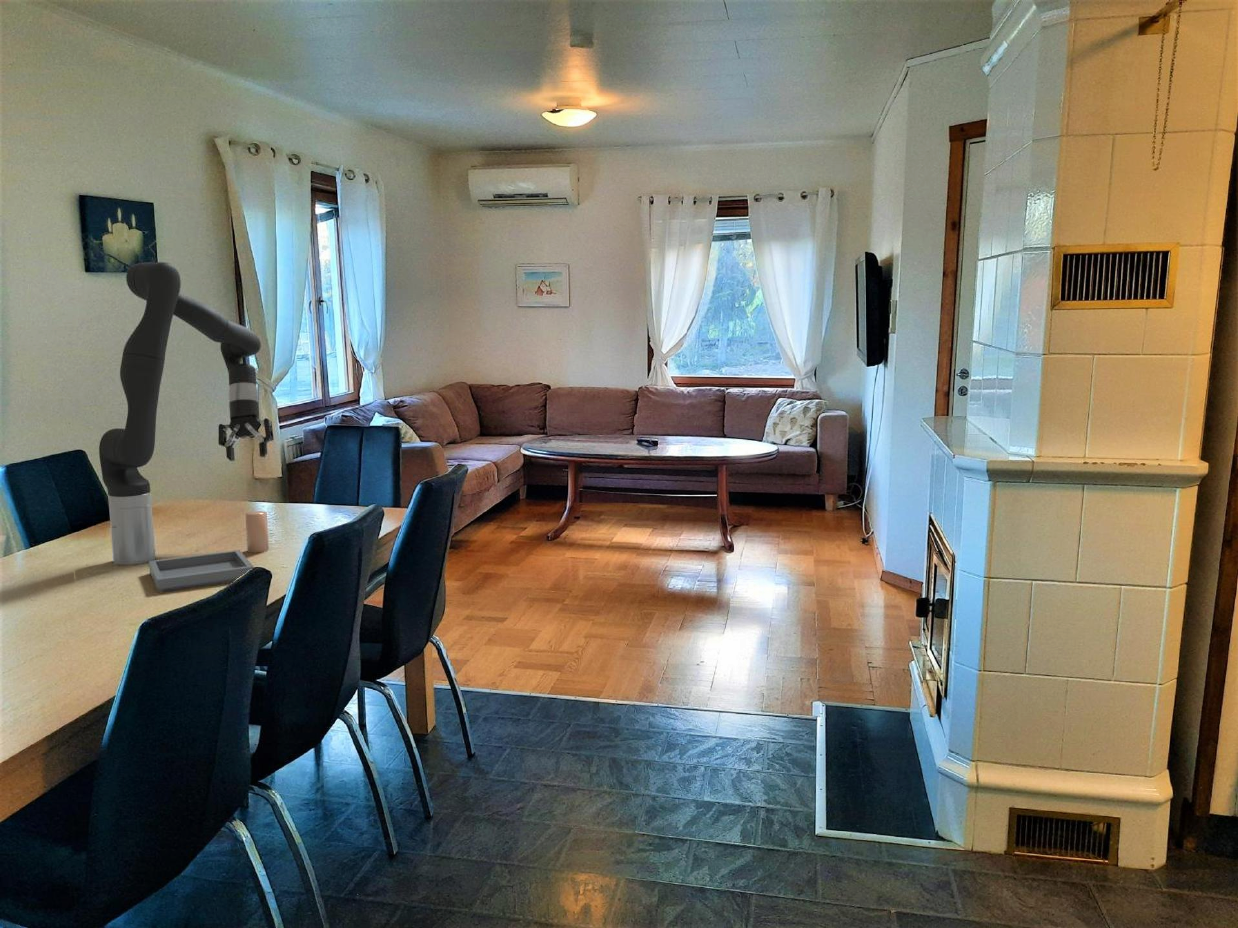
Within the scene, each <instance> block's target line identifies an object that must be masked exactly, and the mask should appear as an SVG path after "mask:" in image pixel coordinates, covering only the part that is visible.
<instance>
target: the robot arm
mask: <svg viewBox="0 0 1238 928" xmlns="http://www.w3.org/2000/svg"><path fill="white" fill-rule="evenodd" d="M180 275H181V274H180V272H179V270H178V269H177V267H176V266H175V265H173V264H171V263H169V262H163V261H162V262H161V261H159V262H158V261H154V262H149V261H147V262H139V263H136V264H133V265H131V267H129V268H128V269H127V272H126V277H125V280H126V284H127V287H128V289H129V290H130V292H131V293H132V294H133V295H134V296H136V297H138V298H140V299H142V300H144V301H145V302H146V304H145V309H144V313H143V315H142V318H141V319H140V321H139V323H138V325H137V326H136V327H135V329H134V330H133V331H132V333H131V334H130V336H129V338H128V339H127V341H126V342H125V345H124V347H123V351H122V355H121V356H122V357H121V362H120V369H119V376H120V377H119V378H120V382H121V383H120V384H121V385H122V389H123V391H124V395H125V398H126V401H127V402H126V403H127V417H126V421H125V426H124V427H125V428H111V429H109V430H107V431H106V432H104V433H103V435H102V436H101V438H100V441H99V446H98V454H99V463H100V470H101V476H102V481H103V485H104V486H105V487H106V489H107V490H106V491H107V497H108V498H107V499H108V500H107V501H108V508H109V509H108V510H109V511H108V512H109V520H110V521H109V522H110V524H109V528H110V529H109V530H110V538H111V551H112V561H113V564H114V566H133V565H142V564H145V563H149V561H154V560H157V559H156V545H155V542H156V541H155V531H154V520H153V518H154V517H153V509H152V508H153V506H152V495H151V494H152V493H151V484H150V482H149V480H148V479H147V478H146V477H145V476H143V475H142V474H141V473H140V471H139V469H138V468H141V467H144V466H146V465H147V464H148V463H149V462H150V461H151V459H152V457H153V456H154V452H155V447H156V446H155V445H156V428H157V411H158V410H157V409H158V404H159V396H160V389H161V383H162V379H163V374H164V373H163V372H164V366H165V361H166V354H167V353H166V352H167V345H168V340H169V336H170V330H171V325H172V322H173V321H172V320H173V317H174V316H175V317H177V318H178V319H180V320H181V321H183V322H184V323H187V325H189V326H191V327H192V328H194V329H195V330H197V331H198V332H200V333H201V334H202V335H204V336H205V337H207V338H208V339H210V340H211V341H213V342H214V343H219V344H220V346H219V347H220V348H219V349H220V352H221V355H222V358H223V361H224V364H225V366H226V369H227V373H228V408H229V419H230V423H229V424H223V423H219V424H218V436H217V437H218V438H217V439H218V440H217V441H218V443H217V444H218V445H219V446H222V447H223V448H224V447H225V452H226V455H225V456H226V459H227V460H228V461H229V462H234V461H235V460H236V459H235V448H234V446H235V445H236V443H237V442H239V440H240V439H246V438H254V437H255V438H256V439H257V440H258V441H259V443H258V448H259V449H258V450H259V456H260V457H261V458H266V455H267V454H268V443H269V442H273V441H274V430H273V422H272V420H271V419H270V418H268V417H266V418H264V419H261V420H260V406H259V405H260V404H259V401H260V400H259V399H260V398H259V391H258V386H257V375H256V369H255V367H254V366H253V365H252V364H250V363H243V361H242V359H243V358H247V357H251V356H254V355H256V354H258V352H260V351H261V346H262V344H261V340H260V337H259V336H258V335H257V334H256V333H255V332H254V331H253V330H251V329H249V328H247V327H246V326H243V325H241V324H238V323H236V322H234V321H231V320H228V318H226V317H225V316H223V315H222V314H221V313H219V312H218V311H217V310H215V309H213V308H212V307H211V306H209V305H207V304H205V303H203V302H201V301H198V300H196V299H194V298H192V297H189V295H185V294H184V293H182V292H180V291H181V283H182V281H181V276H180ZM261 426H262V427H263V428H264V432H265V434H264V435H265V436H264V435H263V434H262V432H260V431H259V430H260V428H261ZM229 430H230V431H231V433H230V434H229V436H228V432H229Z"/></svg>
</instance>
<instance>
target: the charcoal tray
mask: <svg viewBox="0 0 1238 928" xmlns="http://www.w3.org/2000/svg"><path fill="white" fill-rule="evenodd" d="M148 565H149V566H148V567H149V574H150V577H151V579H152V582H153V584H154V586H155V588H156V591H157V593H158V594H161V593H168V592H174V591H181V590H188V589H195V588H196V589H197V588H203V587H204V588H205V587H209V586H215V585H216V586H217V585H218V586H219V585H223V584H231V583H232V584H233V583H234V582H233V581H235V580H236V579H237V578H239V577H240V576H242V575H243V574H245V573H246V572H247V571H248V570H250V569H253V568H254V565H253V564H252V563H251V561H249V559H248V558H247V557H246V556H245V554H243V553H242V551H241V550H240V549H237V550H235V549H234V550H228V551H221V552H220V551H219V552H212V553H205V554H196V555H187V556H180V557H179V556H178V557H172V558H170V557H169V558H164V559H163V558H162V559H155V560H153V561H149V562H148ZM254 569H255V568H254Z"/></svg>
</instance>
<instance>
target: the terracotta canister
mask: <svg viewBox="0 0 1238 928" xmlns="http://www.w3.org/2000/svg"><path fill="white" fill-rule="evenodd" d="M244 514H245V518H244V519H245V531H246V533H245V534H246V545H247V546H246V550H247V551H246V552H248V553H249V552H251V553H250V554H257V553H256V552H262V553H265V552H264V551H266V552H268V551H269V550H270V547H269V528H268V513H267V511H263V510H255V511H248V512H245V513H244ZM268 549H269V550H268ZM267 550H268V551H267ZM253 552H254V553H253Z"/></svg>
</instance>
